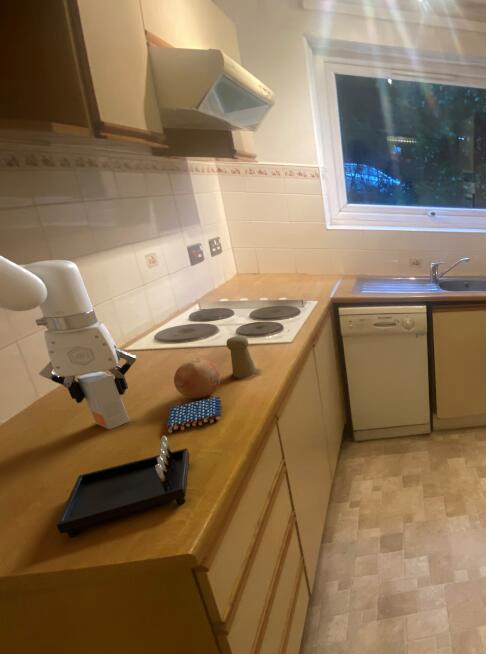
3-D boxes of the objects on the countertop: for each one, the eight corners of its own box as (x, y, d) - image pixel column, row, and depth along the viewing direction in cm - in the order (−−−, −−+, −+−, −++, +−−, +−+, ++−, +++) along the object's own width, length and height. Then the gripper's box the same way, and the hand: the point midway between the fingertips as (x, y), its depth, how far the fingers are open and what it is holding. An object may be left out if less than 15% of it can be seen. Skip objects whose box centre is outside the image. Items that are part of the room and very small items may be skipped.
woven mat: (170, 413, 104) (167, 406, 103) (222, 402, 109) (219, 395, 108) (166, 434, 96) (163, 426, 95) (222, 420, 101) (220, 413, 100)
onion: (188, 389, 116) (177, 354, 112) (230, 385, 118) (221, 351, 114) (172, 406, 107) (159, 370, 103) (217, 402, 109) (206, 366, 105)
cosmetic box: (94, 424, 99) (75, 377, 95) (116, 415, 103) (99, 369, 98) (108, 430, 97) (89, 382, 92) (131, 421, 101) (113, 374, 96)
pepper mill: (240, 379, 121) (231, 342, 117) (228, 374, 124) (218, 338, 120) (261, 371, 126) (253, 336, 122) (249, 367, 129) (240, 332, 125)
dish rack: (64, 541, 68) (43, 501, 65) (85, 490, 79) (68, 453, 76) (187, 503, 76) (174, 466, 73) (191, 461, 87) (180, 427, 84)
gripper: (6, 333, 83) (44, 413, 90) (122, 319, 92) (148, 393, 99) (20, 322, 89) (54, 399, 96) (128, 310, 98) (152, 381, 105)
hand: (102, 395), depth 97 cm, fingers closed on cosmetic box, 6 cm apart
